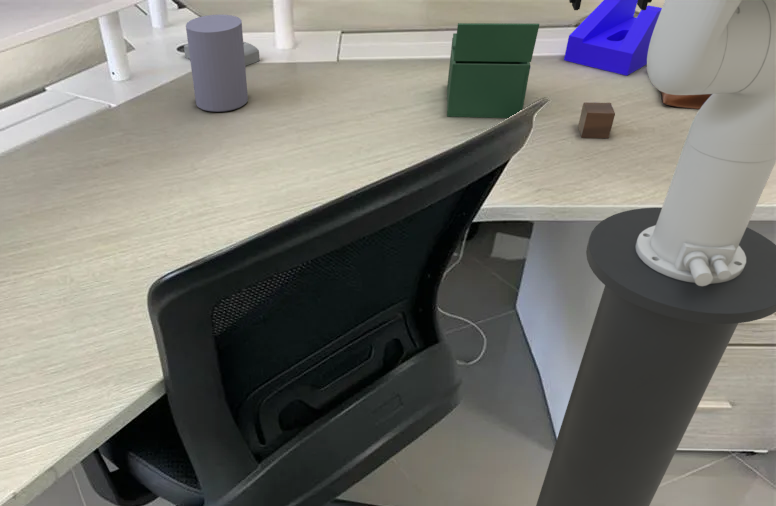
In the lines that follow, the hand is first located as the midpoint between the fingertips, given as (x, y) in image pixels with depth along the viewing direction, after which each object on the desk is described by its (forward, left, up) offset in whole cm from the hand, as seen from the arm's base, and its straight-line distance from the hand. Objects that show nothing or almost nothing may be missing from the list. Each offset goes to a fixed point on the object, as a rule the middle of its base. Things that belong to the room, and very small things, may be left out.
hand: (608, 7), depth 109 cm
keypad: (+31, +72, -20) cm, 81 cm away
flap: (+3, +16, -6) cm, 17 cm away
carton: (+10, +16, -20) cm, 27 cm away
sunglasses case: (+18, -20, -20) cm, 34 cm away
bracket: (+37, -13, -20) cm, 44 cm away
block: (-2, -2, -20) cm, 20 cm away
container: (+7, +66, -20) cm, 69 cm away
